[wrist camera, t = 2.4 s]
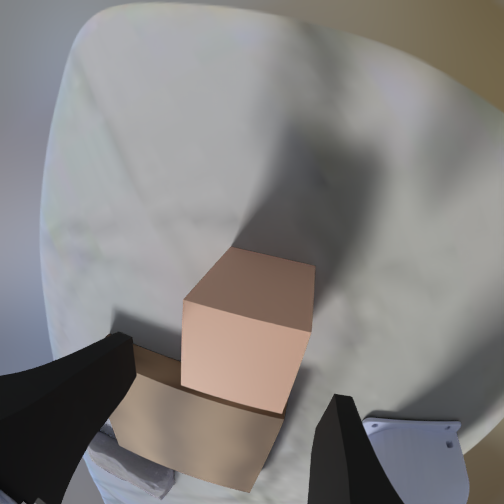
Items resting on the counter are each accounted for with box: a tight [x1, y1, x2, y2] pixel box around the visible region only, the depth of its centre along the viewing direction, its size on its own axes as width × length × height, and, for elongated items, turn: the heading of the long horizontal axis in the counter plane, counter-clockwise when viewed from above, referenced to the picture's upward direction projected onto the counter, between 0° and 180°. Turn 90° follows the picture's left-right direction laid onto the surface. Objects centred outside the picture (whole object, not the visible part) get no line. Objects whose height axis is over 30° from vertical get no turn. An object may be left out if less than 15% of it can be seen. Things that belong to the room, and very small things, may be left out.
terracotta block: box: [181, 247, 315, 414], centre depth 13 cm, size 4×4×6 cm
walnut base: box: [105, 334, 288, 493], centre depth 20 cm, size 14×14×2 cm
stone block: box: [87, 431, 175, 500], centre depth 28 cm, size 12×5×10 cm
